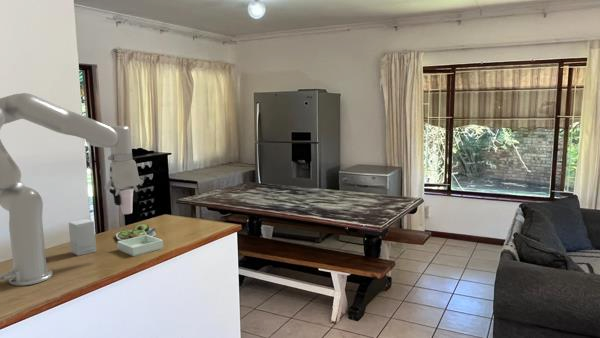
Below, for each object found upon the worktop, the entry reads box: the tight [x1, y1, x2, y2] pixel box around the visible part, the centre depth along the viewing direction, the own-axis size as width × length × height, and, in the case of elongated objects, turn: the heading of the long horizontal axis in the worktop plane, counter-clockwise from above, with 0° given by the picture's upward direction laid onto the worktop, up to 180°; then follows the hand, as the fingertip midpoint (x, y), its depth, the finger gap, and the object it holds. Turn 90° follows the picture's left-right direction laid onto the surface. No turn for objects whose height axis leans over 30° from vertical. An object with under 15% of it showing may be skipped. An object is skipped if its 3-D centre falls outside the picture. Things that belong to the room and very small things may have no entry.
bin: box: [116, 235, 164, 257], centre depth 181 cm, size 13×13×4 cm
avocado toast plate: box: [115, 223, 157, 241], centre depth 198 cm, size 19×18×5 cm
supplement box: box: [68, 218, 97, 257], centre depth 178 cm, size 7×7×13 cm
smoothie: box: [118, 187, 134, 215], centre depth 173 cm, size 6×6×14 cm
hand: (126, 202), depth 173 cm, fingers closed on smoothie, 6 cm apart
